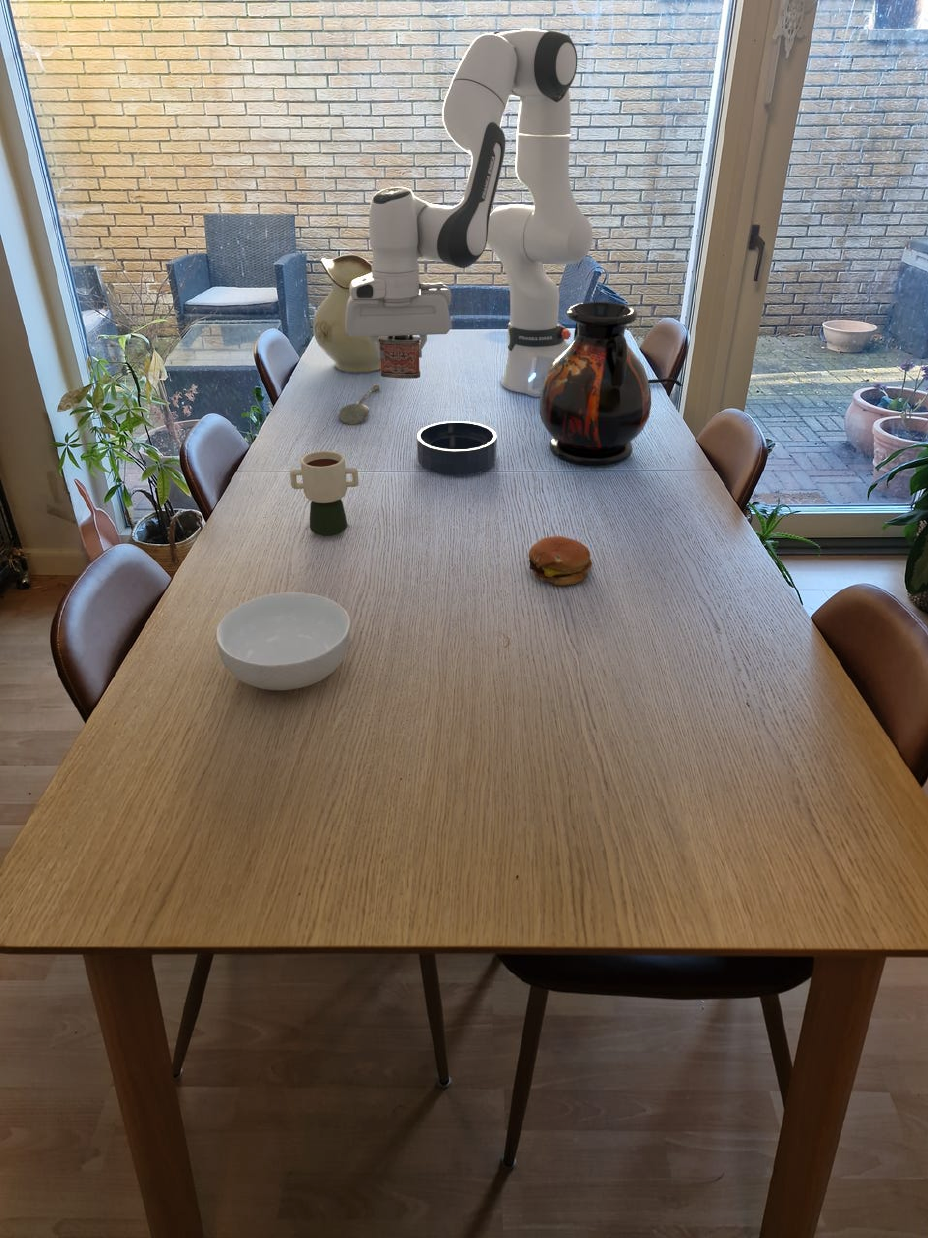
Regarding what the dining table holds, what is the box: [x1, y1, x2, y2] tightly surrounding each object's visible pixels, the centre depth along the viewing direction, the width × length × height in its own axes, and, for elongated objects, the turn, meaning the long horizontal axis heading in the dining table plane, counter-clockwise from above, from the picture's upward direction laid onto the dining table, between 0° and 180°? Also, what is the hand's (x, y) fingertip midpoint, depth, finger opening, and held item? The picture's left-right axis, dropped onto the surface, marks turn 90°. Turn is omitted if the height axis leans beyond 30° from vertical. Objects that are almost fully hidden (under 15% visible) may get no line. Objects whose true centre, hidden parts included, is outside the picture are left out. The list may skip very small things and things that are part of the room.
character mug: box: [289, 450, 359, 538], centre depth 145 cm, size 11×7×13 cm, turn 95°
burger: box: [527, 535, 593, 587], centre depth 136 cm, size 10×9×5 cm
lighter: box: [379, 335, 421, 380], centre depth 173 cm, size 8×3×10 cm, turn 84°
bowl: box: [416, 420, 498, 476], centre depth 171 cm, size 15×15×6 cm
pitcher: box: [312, 253, 381, 374], centre depth 217 cm, size 22×24×25 cm
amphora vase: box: [539, 301, 652, 468], centre depth 169 cm, size 22×22×28 cm
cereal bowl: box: [215, 591, 352, 691], centre depth 114 cm, size 17×17×7 cm
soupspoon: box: [338, 383, 381, 425], centre depth 198 cm, size 22×3×7 cm
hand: (399, 357), depth 174 cm, fingers closed on lighter, 6 cm apart
